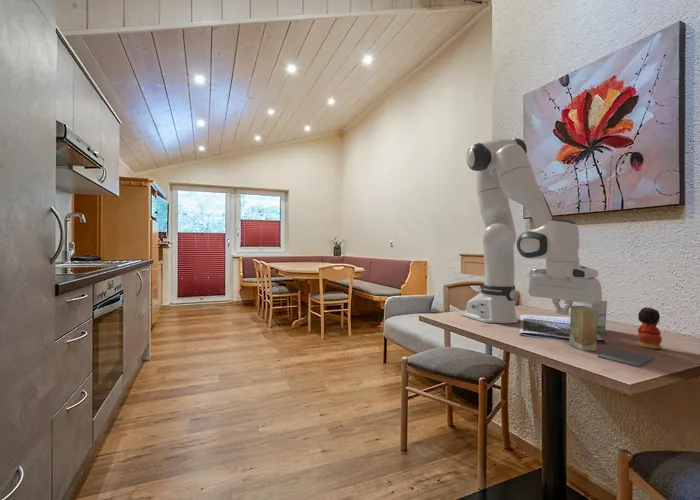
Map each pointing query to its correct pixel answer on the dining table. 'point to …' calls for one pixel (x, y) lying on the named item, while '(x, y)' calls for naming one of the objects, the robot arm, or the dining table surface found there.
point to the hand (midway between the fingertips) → (562, 314)
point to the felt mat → (626, 357)
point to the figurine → (649, 329)
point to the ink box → (599, 314)
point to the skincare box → (583, 328)
